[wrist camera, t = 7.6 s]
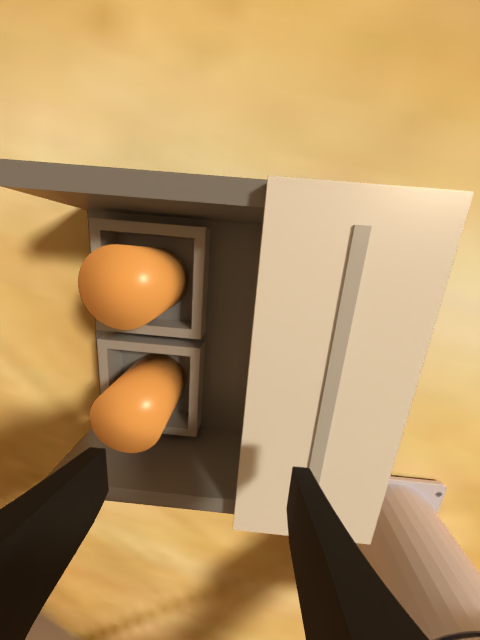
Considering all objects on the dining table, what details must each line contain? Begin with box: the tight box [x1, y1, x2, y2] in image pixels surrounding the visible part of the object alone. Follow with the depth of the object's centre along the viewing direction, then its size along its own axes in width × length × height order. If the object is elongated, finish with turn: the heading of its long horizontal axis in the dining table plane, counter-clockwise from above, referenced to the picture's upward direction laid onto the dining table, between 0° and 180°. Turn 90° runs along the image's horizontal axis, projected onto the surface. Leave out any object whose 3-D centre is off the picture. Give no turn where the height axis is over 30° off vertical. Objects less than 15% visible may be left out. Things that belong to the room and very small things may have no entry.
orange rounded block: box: [90, 353, 186, 453], centre depth 16 cm, size 4×4×5 cm
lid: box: [233, 176, 474, 544], centre depth 11 cm, size 17×7×1 cm, turn 175°
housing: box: [0, 159, 267, 514], centre depth 15 cm, size 17×18×7 cm
